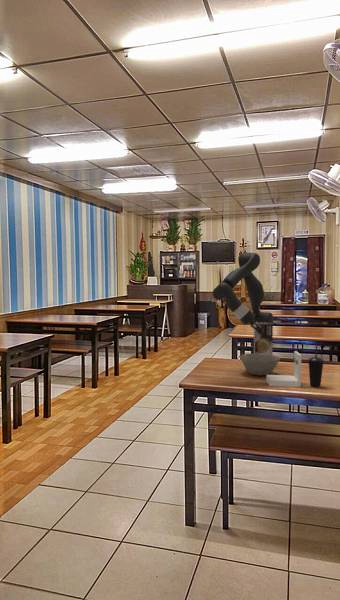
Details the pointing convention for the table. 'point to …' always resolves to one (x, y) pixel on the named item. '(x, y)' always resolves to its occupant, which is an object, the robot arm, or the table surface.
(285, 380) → the white l-shaped bookend
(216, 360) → the table surface
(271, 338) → the coffee box
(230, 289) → the robot arm
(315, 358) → the drinking cup
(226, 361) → the table surface
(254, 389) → the table surface
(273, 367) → the ceramic bowl
